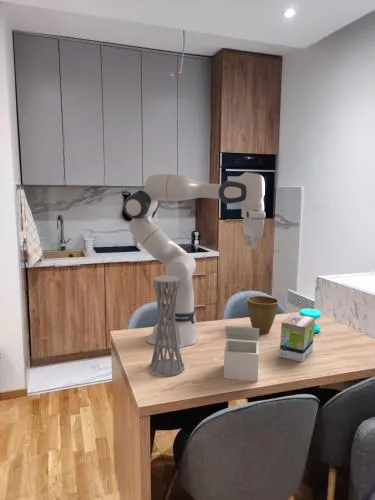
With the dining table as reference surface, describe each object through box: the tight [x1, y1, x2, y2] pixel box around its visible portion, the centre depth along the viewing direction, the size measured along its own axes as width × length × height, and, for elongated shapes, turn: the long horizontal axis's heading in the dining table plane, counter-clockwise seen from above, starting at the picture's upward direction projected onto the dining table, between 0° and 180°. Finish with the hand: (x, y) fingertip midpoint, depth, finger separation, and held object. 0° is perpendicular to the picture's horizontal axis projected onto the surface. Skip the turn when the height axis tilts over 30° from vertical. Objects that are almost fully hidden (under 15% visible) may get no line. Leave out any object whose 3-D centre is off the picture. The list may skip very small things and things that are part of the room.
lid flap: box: [224, 325, 260, 342], centre depth 142 cm, size 12×12×1 cm
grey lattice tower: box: [148, 275, 185, 378], centre depth 143 cm, size 14×13×35 cm
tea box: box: [279, 313, 316, 363], centre depth 159 cm, size 15×10×15 cm
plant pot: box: [246, 295, 279, 335], centre depth 184 cm, size 15×15×16 cm
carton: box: [223, 339, 260, 382], centre depth 141 cm, size 12×12×10 cm
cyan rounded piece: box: [299, 308, 322, 334], centre depth 187 cm, size 10×10×10 cm
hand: (251, 247), depth 156 cm, fingers open, 8 cm apart
